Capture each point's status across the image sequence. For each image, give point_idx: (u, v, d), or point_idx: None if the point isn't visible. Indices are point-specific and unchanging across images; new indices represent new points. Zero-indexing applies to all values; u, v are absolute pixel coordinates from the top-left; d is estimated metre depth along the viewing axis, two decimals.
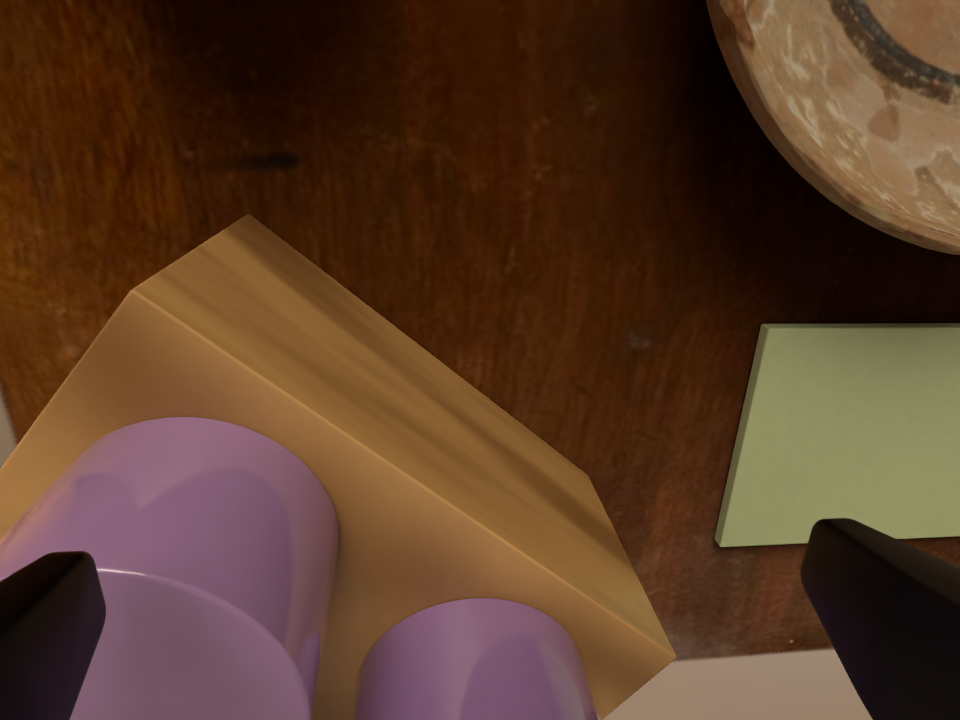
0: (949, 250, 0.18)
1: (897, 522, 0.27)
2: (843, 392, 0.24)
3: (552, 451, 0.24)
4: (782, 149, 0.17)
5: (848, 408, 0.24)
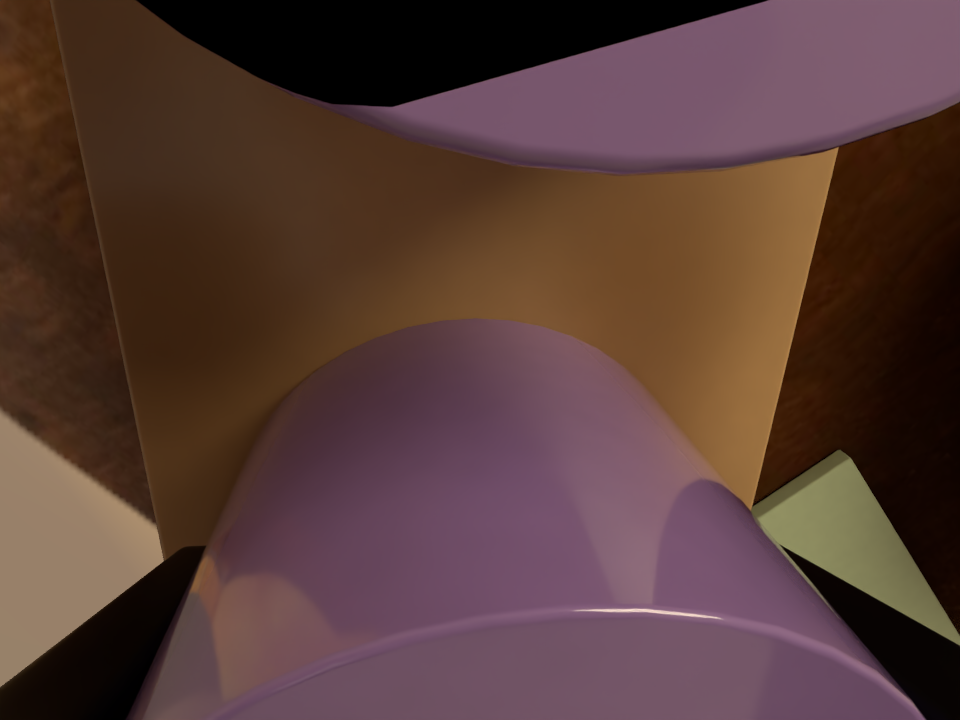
0: None
1: None
2: None
3: None
4: None
5: None
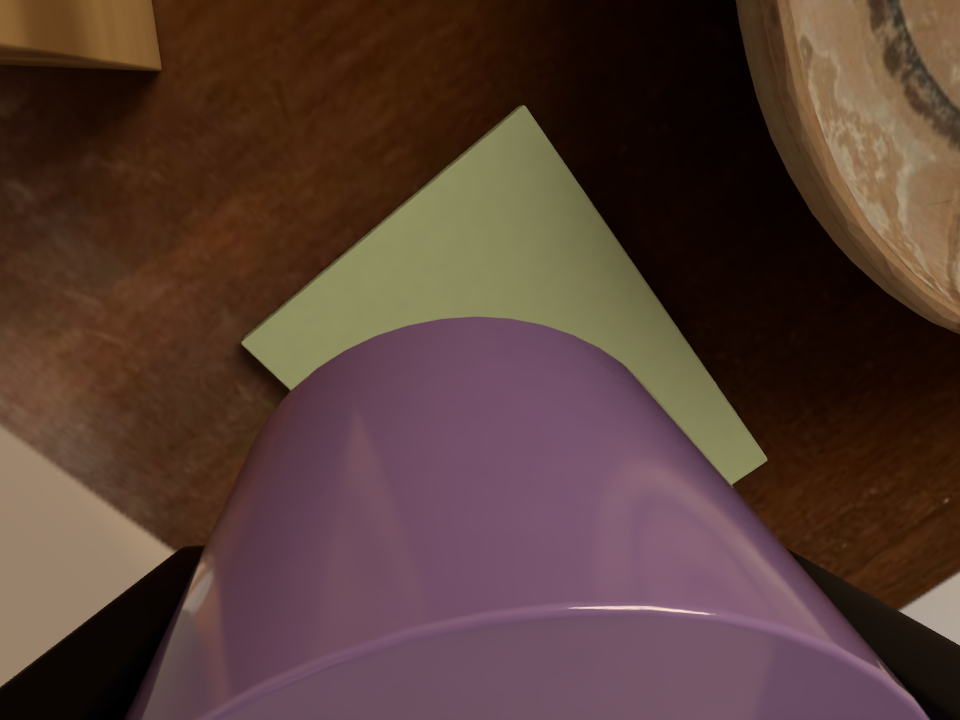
0: (781, 83, 0.12)
1: None
2: (526, 279, 0.17)
3: None
4: None
5: (514, 306, 0.17)
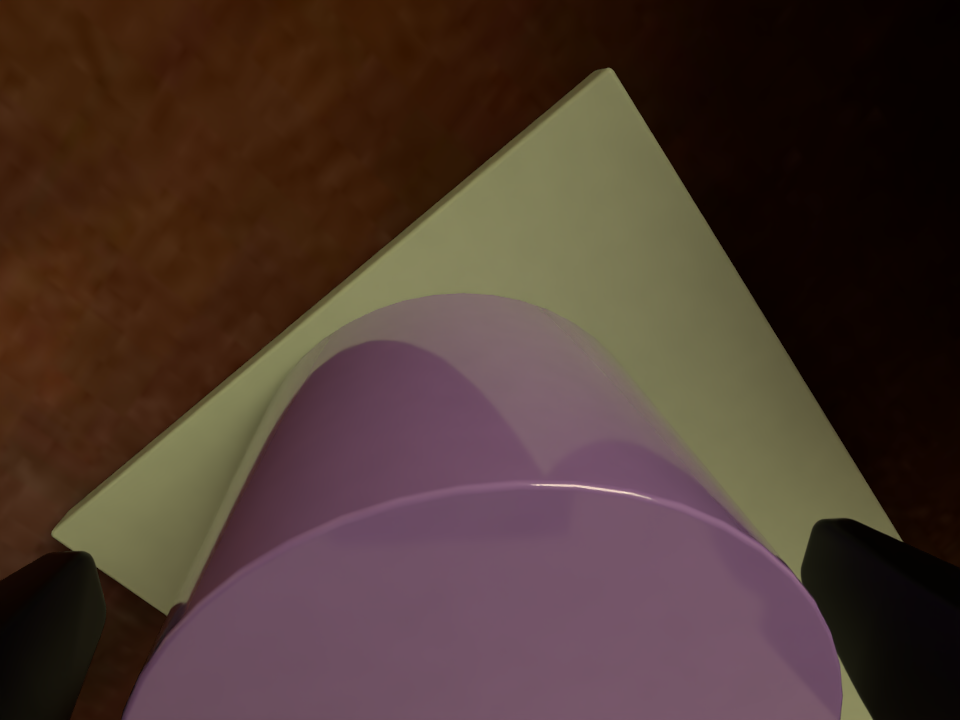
0: None
1: None
2: None
3: None
4: None
5: None
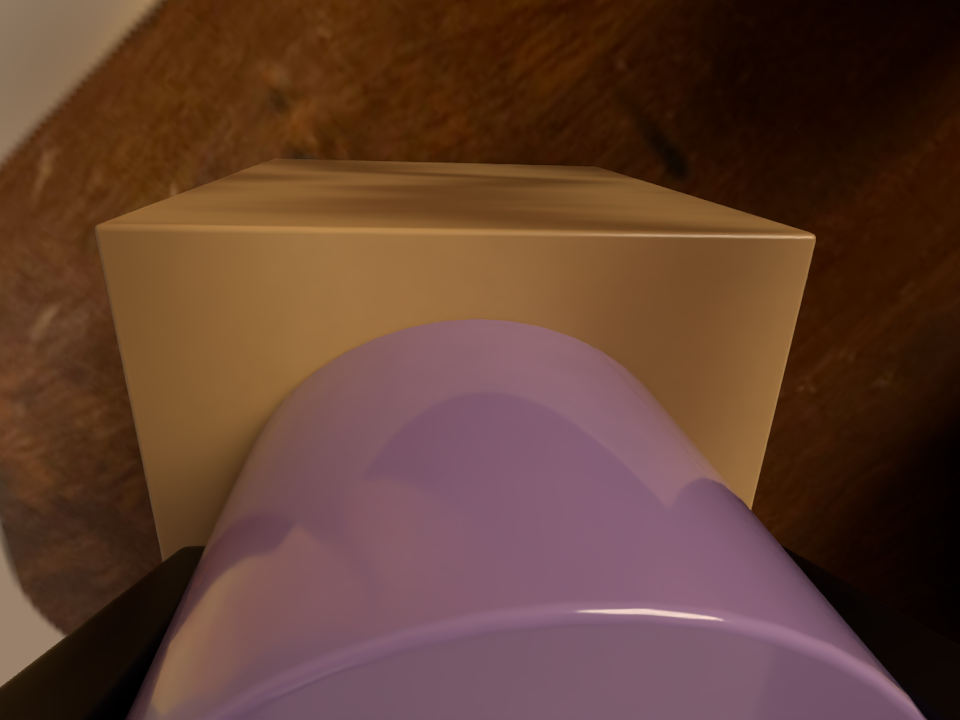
0: None
1: None
2: None
3: None
4: None
5: None
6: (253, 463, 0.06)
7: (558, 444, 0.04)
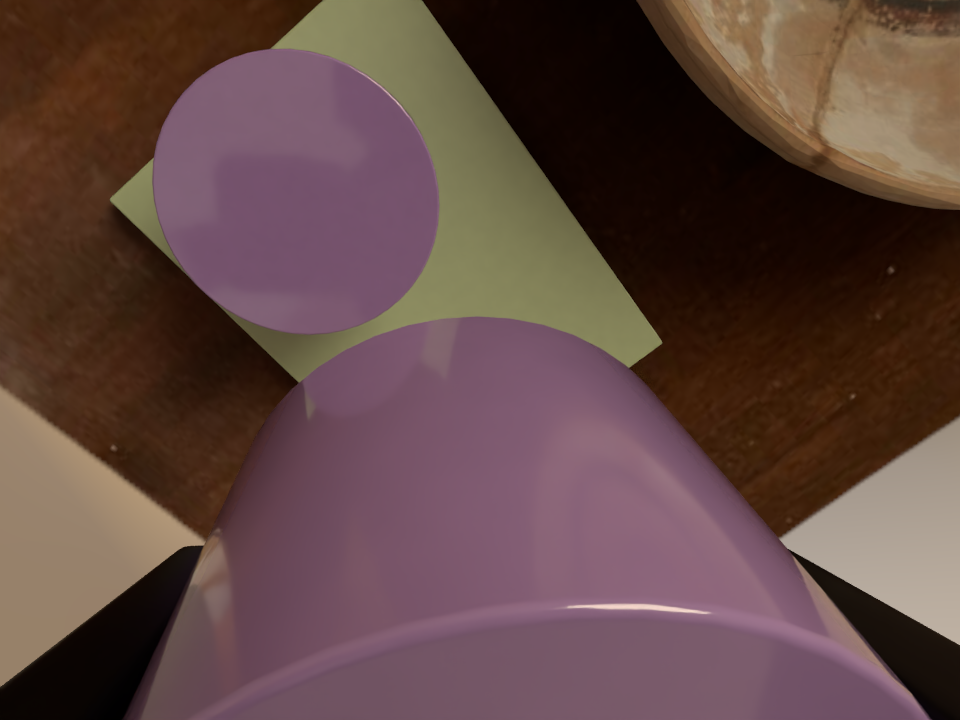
0: None
1: None
2: None
3: None
4: None
5: None
6: (252, 461, 0.06)
7: (560, 441, 0.04)
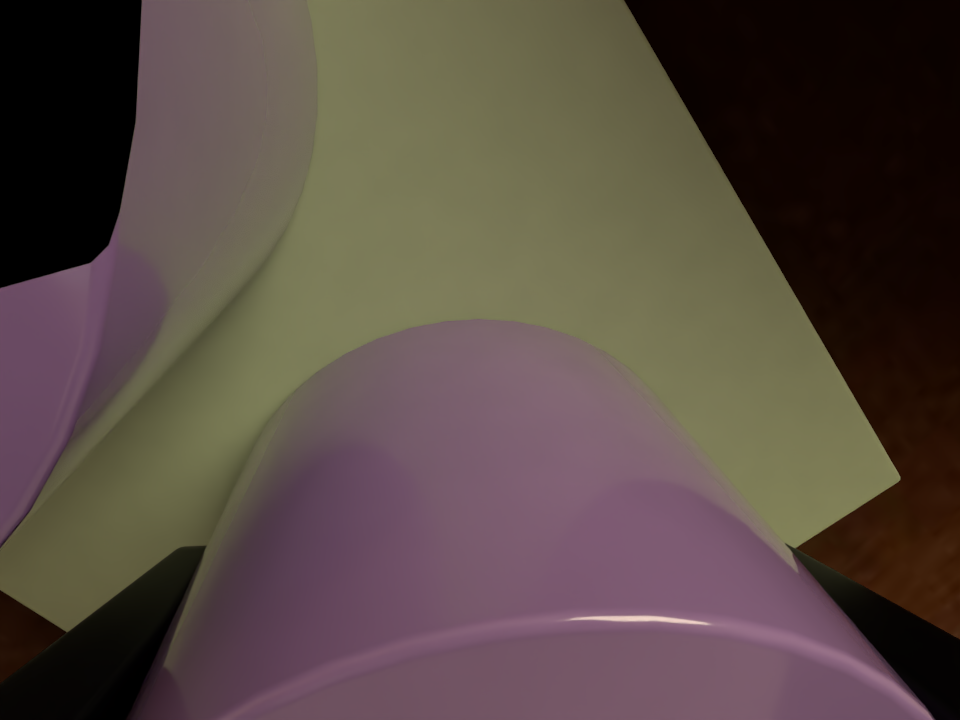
0: None
1: (108, 591, 0.08)
2: None
3: None
4: None
5: None
6: (253, 465, 0.06)
7: (564, 446, 0.04)
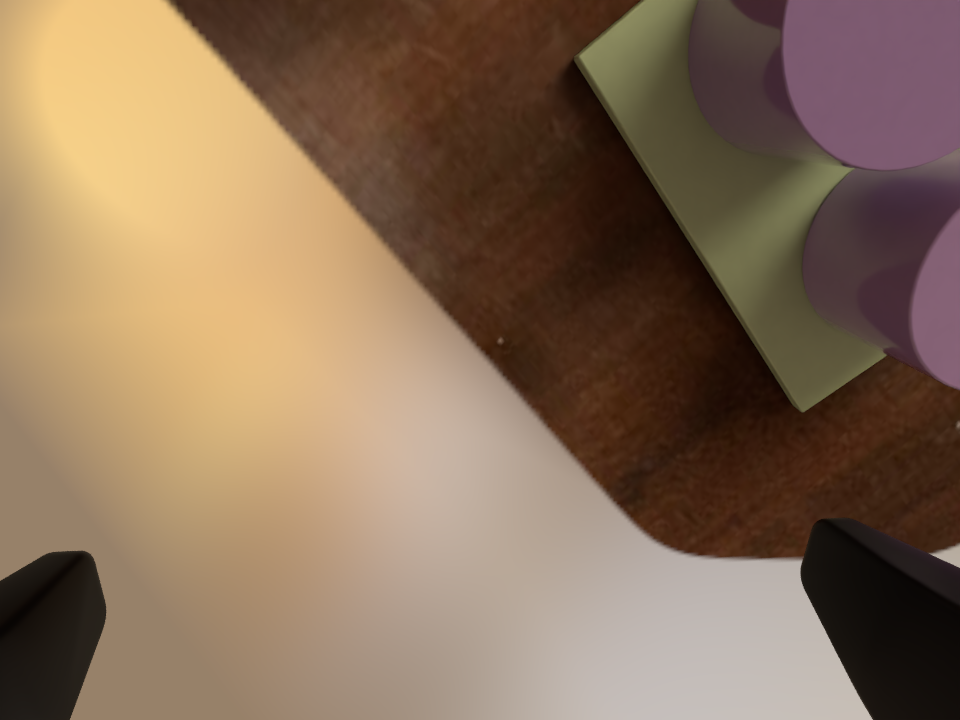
0: None
1: (747, 265, 0.19)
2: None
3: None
4: None
5: None
6: (871, 184, 0.17)
7: None
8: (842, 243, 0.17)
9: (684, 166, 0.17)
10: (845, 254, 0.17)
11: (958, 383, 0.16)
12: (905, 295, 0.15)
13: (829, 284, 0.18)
